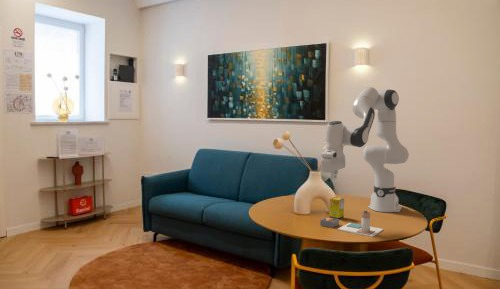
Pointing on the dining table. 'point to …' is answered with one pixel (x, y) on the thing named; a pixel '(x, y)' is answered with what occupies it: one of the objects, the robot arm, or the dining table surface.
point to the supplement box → (336, 207)
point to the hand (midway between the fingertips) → (333, 178)
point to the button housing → (329, 222)
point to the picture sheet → (359, 229)
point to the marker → (365, 221)
